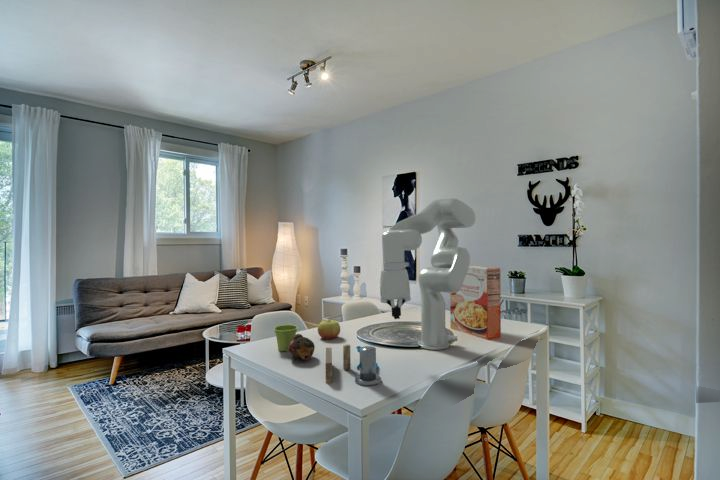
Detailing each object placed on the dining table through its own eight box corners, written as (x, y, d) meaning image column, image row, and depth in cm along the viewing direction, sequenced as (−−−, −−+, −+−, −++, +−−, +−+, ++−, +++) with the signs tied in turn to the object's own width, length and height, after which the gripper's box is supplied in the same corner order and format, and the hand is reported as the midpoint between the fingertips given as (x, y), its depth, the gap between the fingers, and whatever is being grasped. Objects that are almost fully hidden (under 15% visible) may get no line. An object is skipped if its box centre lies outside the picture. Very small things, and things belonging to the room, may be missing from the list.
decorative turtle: (306, 350, 149) (307, 330, 149) (320, 365, 136) (322, 343, 135) (282, 353, 144) (283, 332, 144) (294, 368, 131) (295, 345, 131)
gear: (379, 369, 123) (358, 346, 124) (366, 382, 123) (345, 359, 124) (380, 362, 134) (360, 341, 135) (369, 374, 134) (349, 353, 135)
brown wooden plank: (332, 364, 133) (331, 347, 133) (332, 382, 117) (332, 362, 117) (326, 364, 133) (326, 347, 132) (325, 382, 117) (325, 363, 116)
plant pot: (303, 349, 151) (302, 327, 151) (283, 354, 145) (283, 331, 144) (288, 344, 158) (288, 323, 158) (269, 349, 151) (269, 327, 151)
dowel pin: (350, 367, 129) (350, 344, 129) (350, 370, 127) (350, 346, 127) (343, 368, 129) (343, 344, 129) (343, 370, 127) (343, 346, 127)
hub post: (379, 375, 122) (378, 344, 122) (382, 385, 114) (382, 352, 114) (354, 376, 121) (353, 345, 121) (356, 386, 113) (355, 353, 113)
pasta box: (450, 328, 182) (450, 265, 182) (463, 326, 186) (462, 264, 185) (487, 339, 162) (486, 269, 161) (500, 337, 165) (500, 268, 165)
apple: (336, 334, 174) (336, 316, 174) (343, 339, 165) (343, 321, 165) (315, 336, 170) (315, 318, 170) (321, 342, 161) (320, 323, 161)
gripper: (412, 264, 138) (414, 313, 139) (371, 266, 137) (374, 317, 138) (417, 266, 131) (419, 319, 132) (374, 269, 129) (377, 322, 130)
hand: (396, 317), depth 135 cm, fingers closed
